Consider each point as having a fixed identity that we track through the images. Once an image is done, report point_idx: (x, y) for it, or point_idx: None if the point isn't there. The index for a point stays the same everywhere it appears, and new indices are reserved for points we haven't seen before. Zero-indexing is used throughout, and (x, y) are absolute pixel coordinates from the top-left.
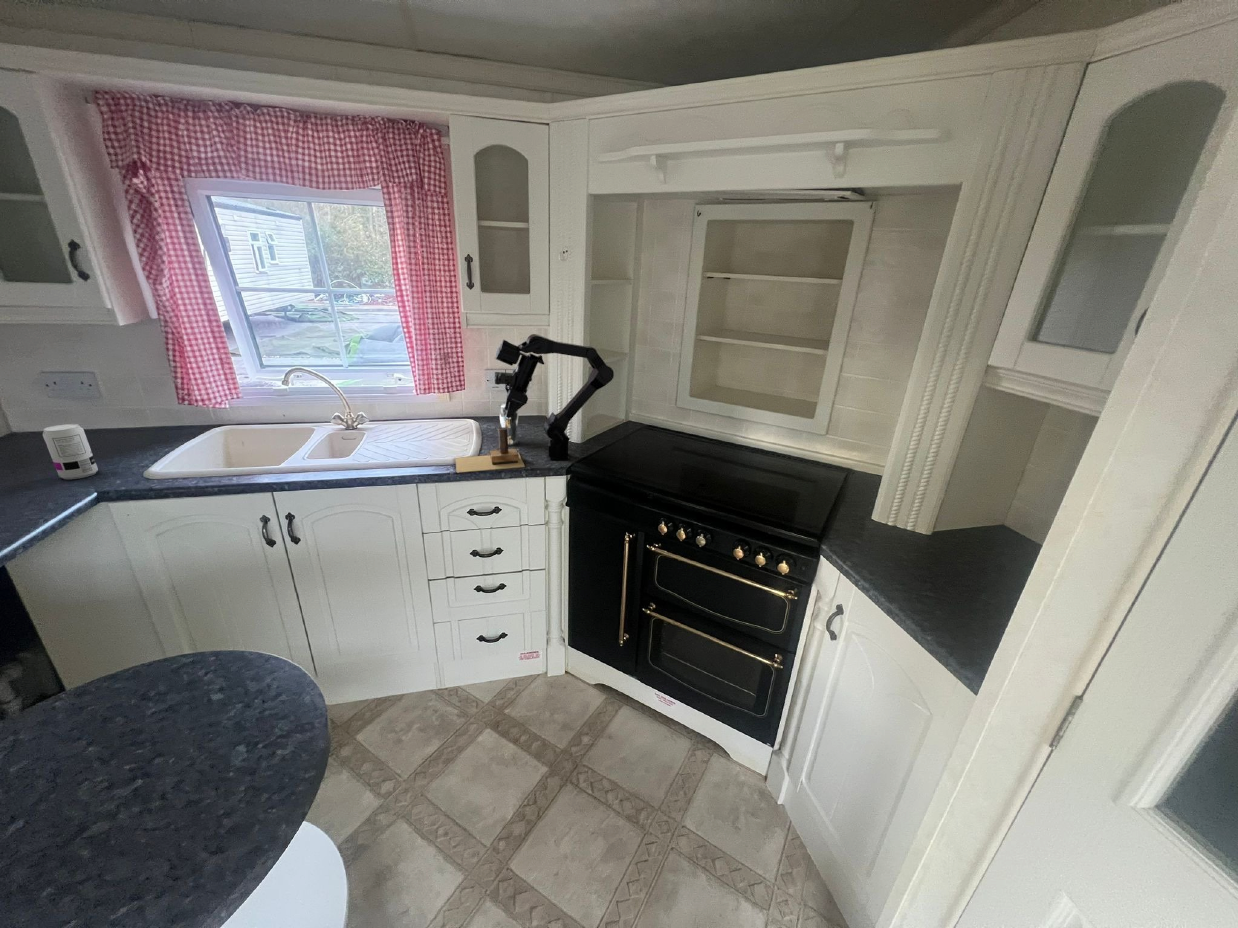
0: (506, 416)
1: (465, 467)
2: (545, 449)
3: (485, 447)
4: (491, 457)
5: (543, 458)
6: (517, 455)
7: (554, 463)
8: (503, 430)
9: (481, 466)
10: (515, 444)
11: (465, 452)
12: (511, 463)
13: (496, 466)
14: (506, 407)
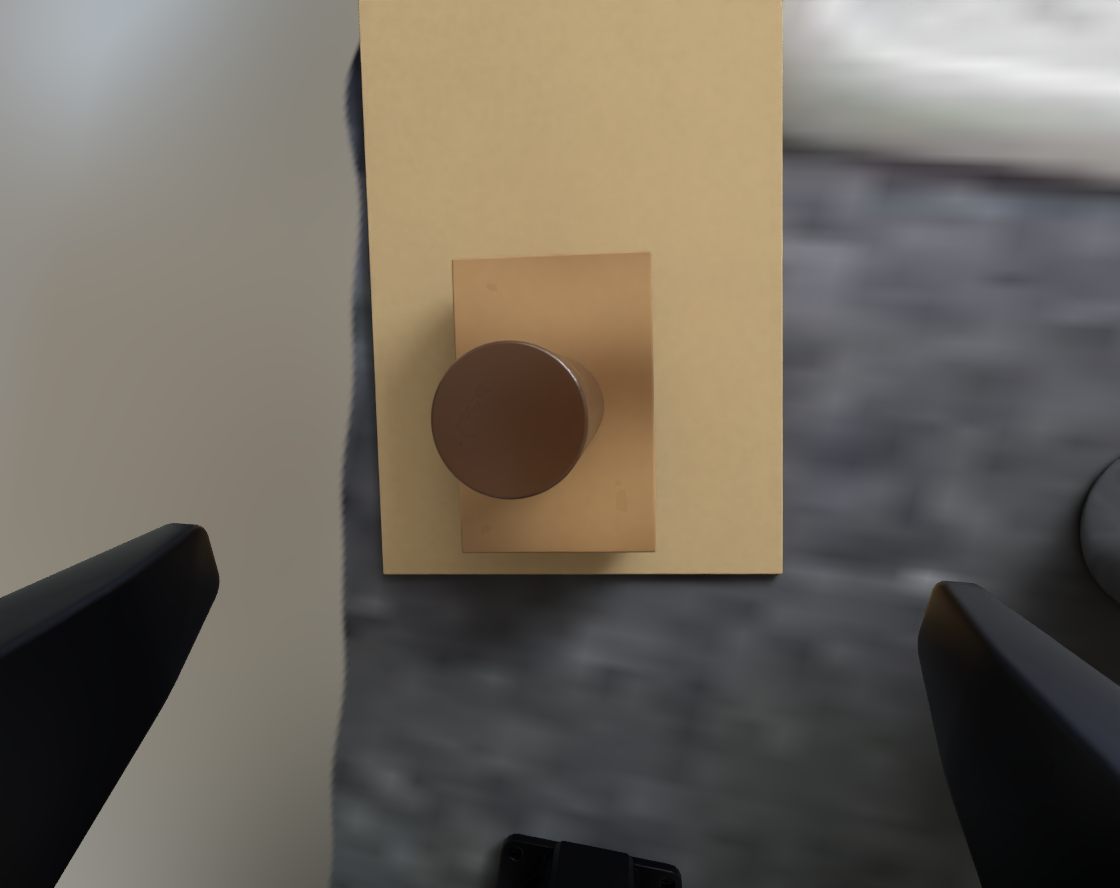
0: (161, 528)
1: (467, 11)
2: (852, 856)
3: (1096, 237)
4: (466, 260)
5: (584, 780)
6: (464, 539)
7: (429, 846)
8: (433, 423)
9: (461, 169)
10: (1096, 579)
11: (971, 6)
12: None
13: (433, 313)
14: (954, 645)
